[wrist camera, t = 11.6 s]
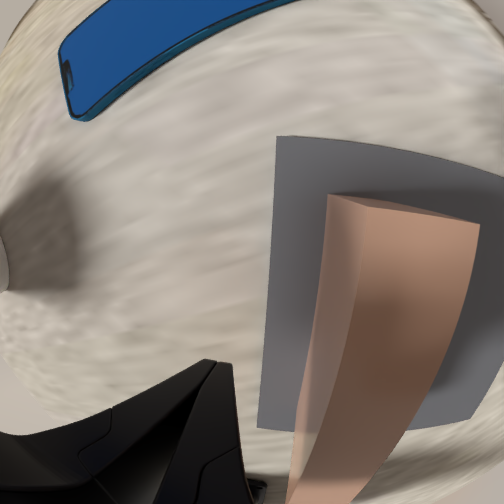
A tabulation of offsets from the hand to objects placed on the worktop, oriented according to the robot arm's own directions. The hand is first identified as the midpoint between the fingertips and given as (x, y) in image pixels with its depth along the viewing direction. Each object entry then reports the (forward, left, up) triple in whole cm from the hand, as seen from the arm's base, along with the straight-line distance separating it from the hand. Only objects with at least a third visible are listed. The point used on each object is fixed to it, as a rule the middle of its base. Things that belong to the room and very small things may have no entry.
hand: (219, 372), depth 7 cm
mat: (0, -8, -4) cm, 9 cm away
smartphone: (+15, +4, -5) cm, 16 cm away
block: (0, -4, -4) cm, 5 cm away
